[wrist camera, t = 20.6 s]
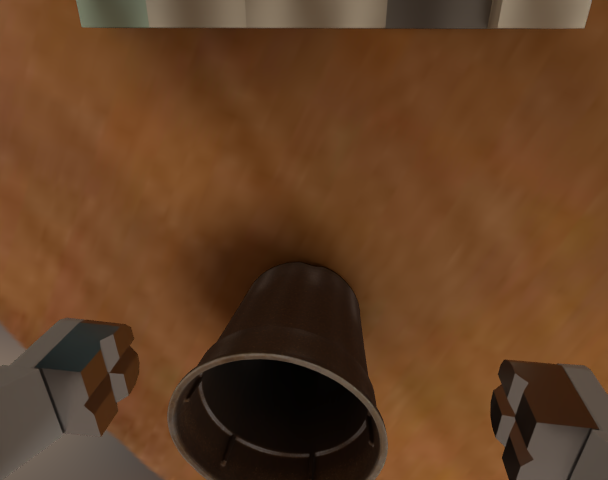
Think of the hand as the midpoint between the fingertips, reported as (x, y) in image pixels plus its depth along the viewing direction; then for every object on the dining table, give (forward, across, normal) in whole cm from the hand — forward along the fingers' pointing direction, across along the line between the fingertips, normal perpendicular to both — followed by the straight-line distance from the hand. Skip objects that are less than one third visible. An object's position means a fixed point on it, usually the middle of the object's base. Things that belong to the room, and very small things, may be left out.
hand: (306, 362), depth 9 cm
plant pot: (+29, +4, +20) cm, 36 cm away
